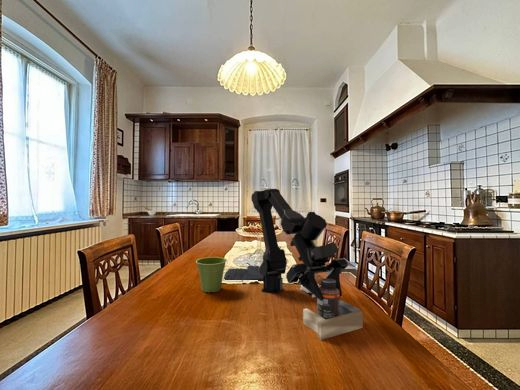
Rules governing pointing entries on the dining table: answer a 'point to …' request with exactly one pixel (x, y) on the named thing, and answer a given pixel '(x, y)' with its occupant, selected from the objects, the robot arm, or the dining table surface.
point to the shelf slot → (334, 321)
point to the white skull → (307, 290)
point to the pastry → (318, 278)
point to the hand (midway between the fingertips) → (331, 297)
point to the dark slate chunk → (244, 274)
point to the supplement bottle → (329, 299)
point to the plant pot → (211, 273)
